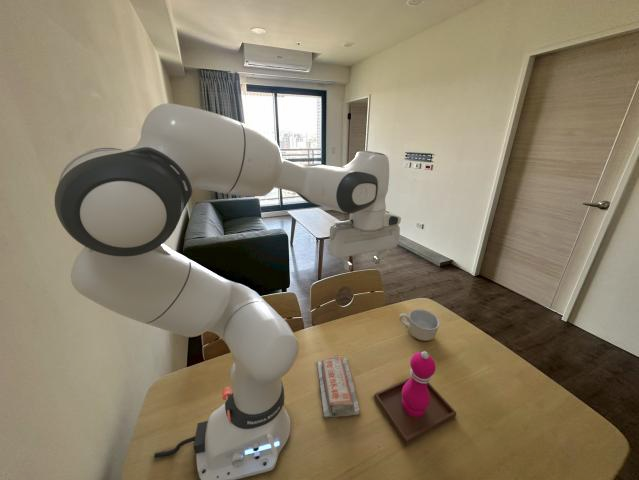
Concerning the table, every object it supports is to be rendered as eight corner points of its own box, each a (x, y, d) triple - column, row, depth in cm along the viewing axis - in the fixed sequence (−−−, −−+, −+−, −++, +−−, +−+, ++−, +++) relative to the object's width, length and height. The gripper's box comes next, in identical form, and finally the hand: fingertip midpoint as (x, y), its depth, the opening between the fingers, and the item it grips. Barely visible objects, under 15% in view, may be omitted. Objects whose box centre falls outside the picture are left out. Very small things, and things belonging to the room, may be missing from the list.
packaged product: (361, 403, 66) (324, 407, 65) (360, 415, 68) (324, 419, 67) (347, 350, 83) (317, 352, 82) (346, 361, 85) (317, 363, 84)
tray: (405, 445, 62) (406, 441, 61) (373, 398, 73) (374, 393, 72) (455, 417, 68) (456, 412, 67) (419, 377, 79) (420, 373, 78)
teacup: (437, 331, 98) (441, 315, 95) (433, 350, 90) (437, 332, 87) (402, 318, 105) (404, 303, 102) (394, 334, 96) (397, 317, 93)
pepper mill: (422, 395, 73) (435, 342, 66) (430, 421, 67) (445, 366, 59) (397, 393, 74) (407, 340, 66) (402, 418, 67) (414, 363, 60)
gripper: (336, 226, 58) (334, 279, 63) (406, 217, 65) (399, 264, 70) (324, 219, 63) (323, 267, 68) (390, 211, 71) (385, 255, 76)
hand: (362, 266), depth 69 cm, fingers open, 8 cm apart
